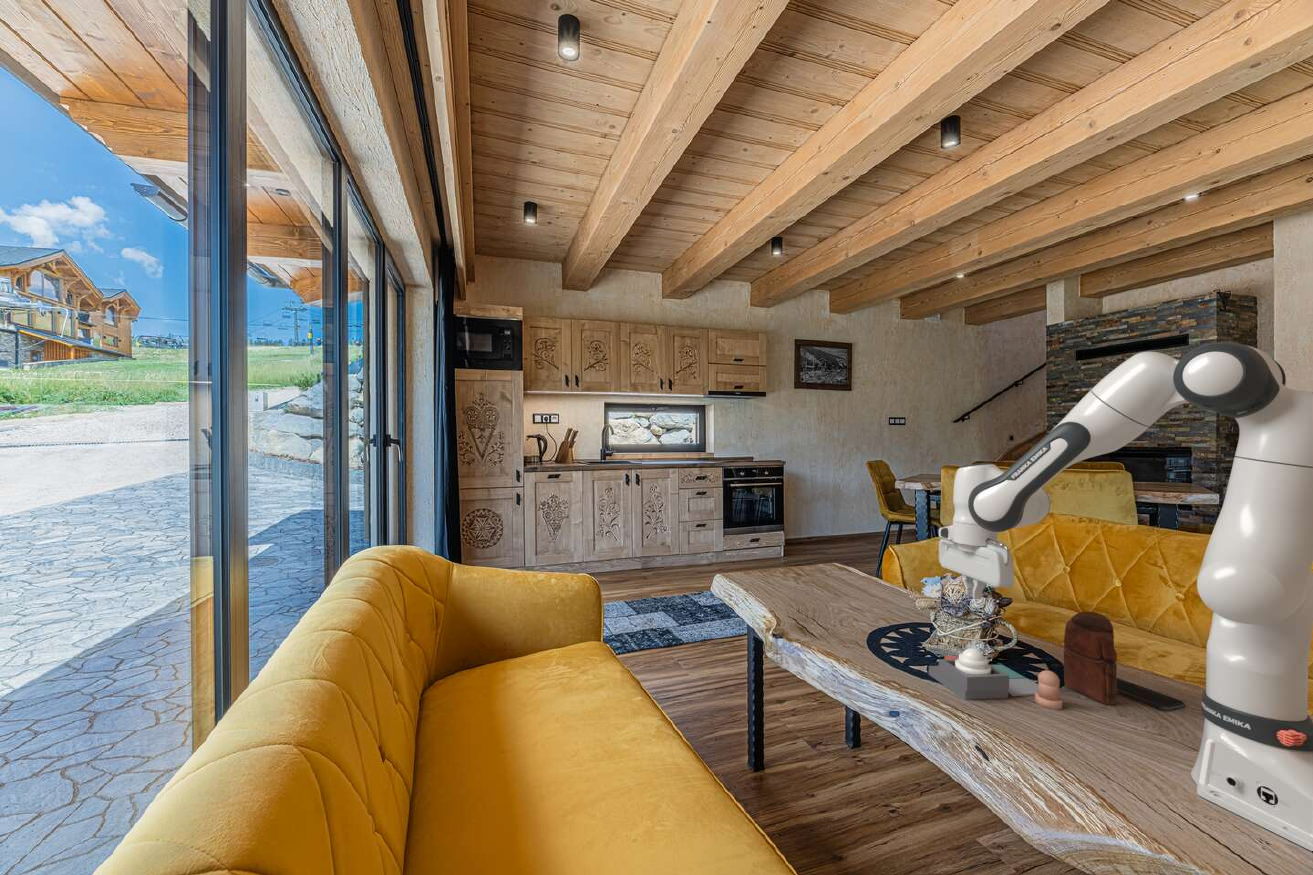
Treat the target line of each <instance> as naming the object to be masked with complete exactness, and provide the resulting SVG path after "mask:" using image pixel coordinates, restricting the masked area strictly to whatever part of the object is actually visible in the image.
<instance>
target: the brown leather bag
mask: <svg viewBox="0 0 1313 875" xmlns="http://www.w3.org/2000/svg"><path fill="white" fill-rule="evenodd" d="M1114 633H1115V632H1114V627H1113V624H1112V622H1111V620H1110V619H1109V618H1107V617H1106V616H1105V615H1104V614H1101V613H1098V612H1094V611H1090V610H1089V611H1081V612H1078V613H1076V614H1074V615H1073V616H1072V617H1071V618H1070V619H1069V620H1068V621H1067V622H1066V624H1065V628H1064V634H1063V636H1064V637H1063V644H1064V645H1063V678H1064V680H1063V681H1064V685H1066V686H1067V688H1069V689H1071V690H1072V691H1075V692H1077V693H1080V694H1082V695H1084V696H1087V697H1089V698H1090V699H1093V700H1094V701H1097V702H1099V703H1102V704H1103V705H1104V704H1105V705H1109V706H1113V705H1115V704H1116V703H1117V700H1118V699H1117V698H1118V694H1117V678H1118V677H1117V674H1118V672H1117V670H1118V669H1117V666H1118V665H1117V660H1118V659H1117V657H1118V654H1117V651H1116V649H1115V640H1114V639H1115V634H1114Z"/></svg>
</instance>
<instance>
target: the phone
mask: <svg viewBox="0 0 1313 875" xmlns="http://www.w3.org/2000/svg"><path fill="white" fill-rule="evenodd" d="M1117 695H1119V696H1122V697H1124V698H1127V699H1130V700H1133V701H1135V702H1138V703H1140V704H1142V705H1145V706H1147V707H1150V708H1153V709H1155V710H1158V711H1161V712H1172V711H1176V710H1180V709H1185V708H1186V702H1184V701H1182V700H1179V699H1177V698H1174V697H1171V696H1168V695H1165V694H1163V693H1160V692H1157V691H1155V690H1152V689H1150V688H1146V687H1144V686H1141V685H1139V684H1135V683H1133V682H1130V681H1127V680H1125V679H1121V678H1119V677H1117Z"/></svg>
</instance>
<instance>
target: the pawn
mask: <svg viewBox="0 0 1313 875" xmlns="http://www.w3.org/2000/svg"><path fill="white" fill-rule="evenodd" d="M1037 680H1038V681H1037V682H1038V683H1037V684H1038V692H1037V693H1035V695H1034V703H1035V704H1036V705H1037V706H1039V707H1041V708H1044V709H1047V710H1053V711H1060V710H1063V702H1064V701H1063V698H1062V697H1060V684H1061V680H1060V678H1059V676H1058V675H1057V674H1056V673H1055V672H1054V671H1051V670H1047V669H1045V670H1042V671H1040V672H1039V673H1038V676H1037Z"/></svg>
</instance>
